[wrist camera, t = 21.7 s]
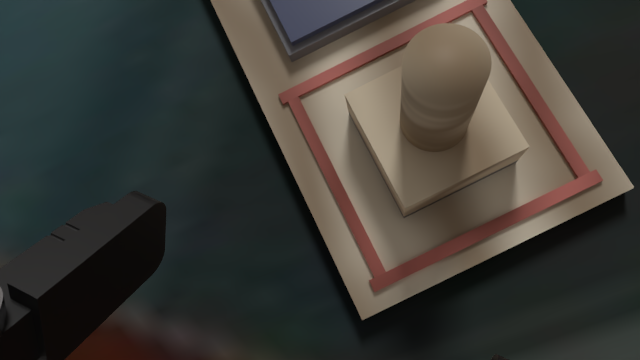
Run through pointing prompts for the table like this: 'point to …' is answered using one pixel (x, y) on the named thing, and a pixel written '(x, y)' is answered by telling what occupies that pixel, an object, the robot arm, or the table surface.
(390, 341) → the table surface
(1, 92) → the table surface
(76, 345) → the robot arm
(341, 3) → the ink pad
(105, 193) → the table surface
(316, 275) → the table surface
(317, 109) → the stamping board
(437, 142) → the stamp
